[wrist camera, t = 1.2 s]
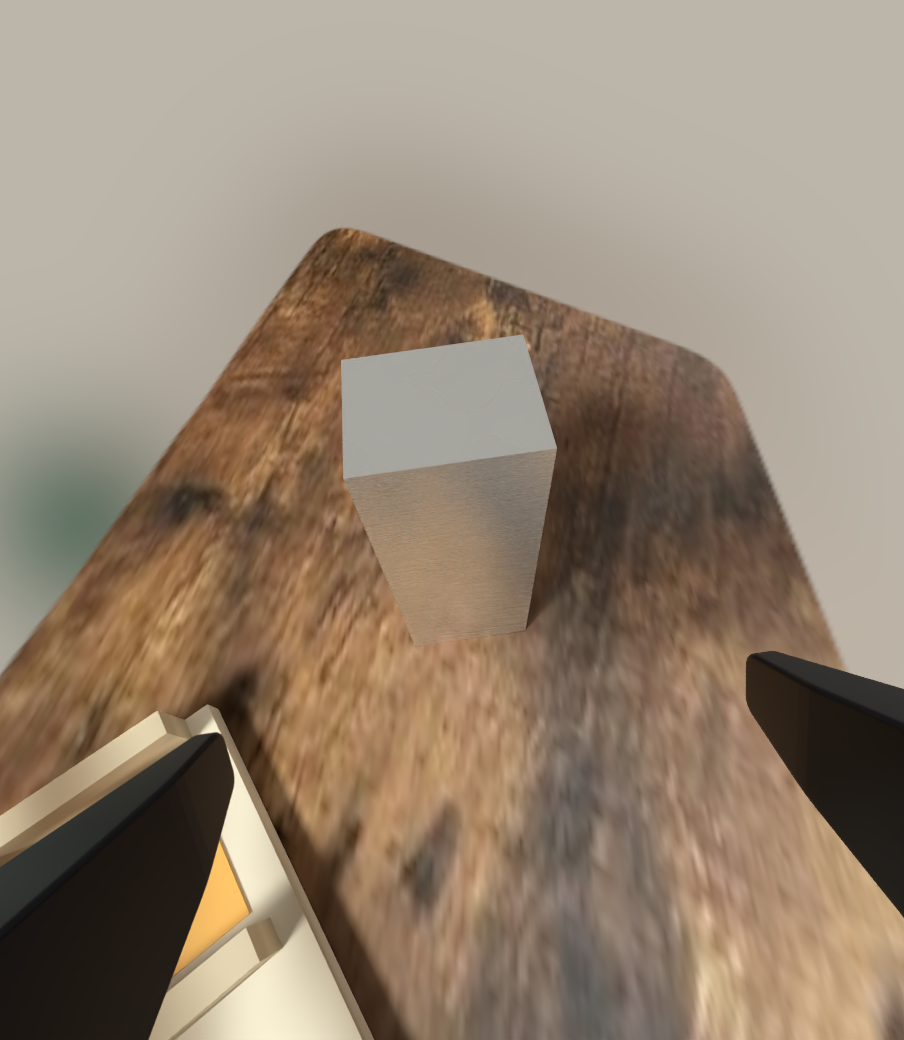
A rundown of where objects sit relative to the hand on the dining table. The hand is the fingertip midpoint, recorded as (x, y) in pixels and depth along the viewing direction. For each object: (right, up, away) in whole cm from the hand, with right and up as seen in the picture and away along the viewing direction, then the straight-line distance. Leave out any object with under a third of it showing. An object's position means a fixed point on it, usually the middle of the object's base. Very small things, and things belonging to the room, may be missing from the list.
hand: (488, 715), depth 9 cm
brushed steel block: (0, 0, +15) cm, 15 cm away
